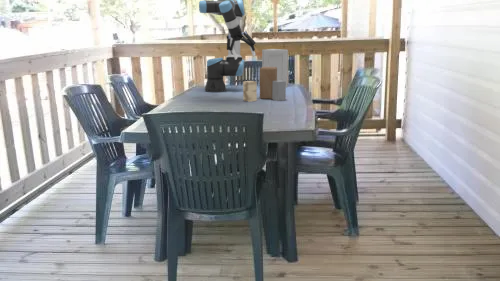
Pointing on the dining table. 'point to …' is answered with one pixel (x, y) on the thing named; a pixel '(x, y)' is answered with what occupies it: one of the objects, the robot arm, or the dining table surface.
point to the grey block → (279, 90)
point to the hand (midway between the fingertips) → (245, 57)
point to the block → (267, 81)
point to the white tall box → (276, 62)
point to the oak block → (250, 91)
